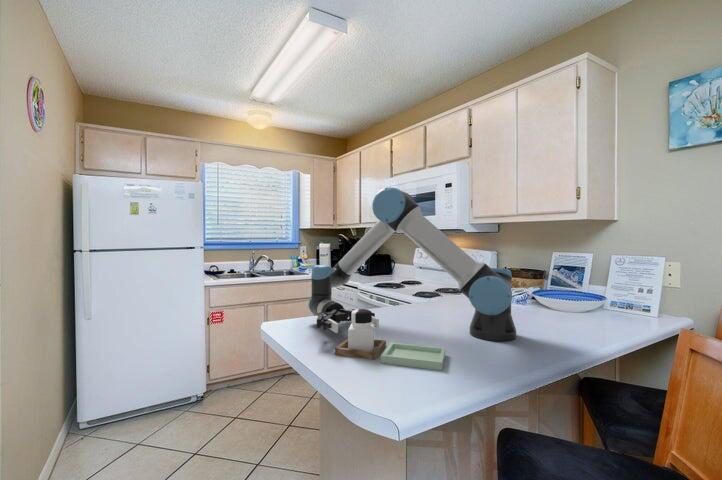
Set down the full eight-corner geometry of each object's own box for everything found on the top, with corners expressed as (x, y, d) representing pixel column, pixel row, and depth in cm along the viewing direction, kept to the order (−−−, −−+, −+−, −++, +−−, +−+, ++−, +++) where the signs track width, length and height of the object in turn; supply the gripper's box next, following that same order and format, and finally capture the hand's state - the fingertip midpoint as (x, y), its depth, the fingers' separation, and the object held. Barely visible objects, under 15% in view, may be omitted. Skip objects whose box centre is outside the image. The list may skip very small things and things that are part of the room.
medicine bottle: (374, 347, 106) (374, 307, 106) (372, 355, 99) (372, 313, 99) (350, 346, 107) (351, 307, 107) (347, 354, 100) (348, 312, 100)
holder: (385, 346, 107) (385, 340, 107) (375, 359, 95) (375, 352, 95) (349, 342, 110) (349, 336, 110) (334, 354, 99) (335, 348, 99)
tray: (445, 354, 99) (445, 348, 99) (442, 370, 88) (442, 362, 88) (390, 349, 104) (390, 342, 104) (380, 362, 93) (380, 355, 93)
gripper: (362, 318, 129) (393, 333, 110) (296, 326, 117) (318, 343, 98) (362, 298, 128) (393, 309, 110) (296, 304, 117) (318, 317, 98)
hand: (357, 325), depth 104 cm, fingers open, 13 cm apart
